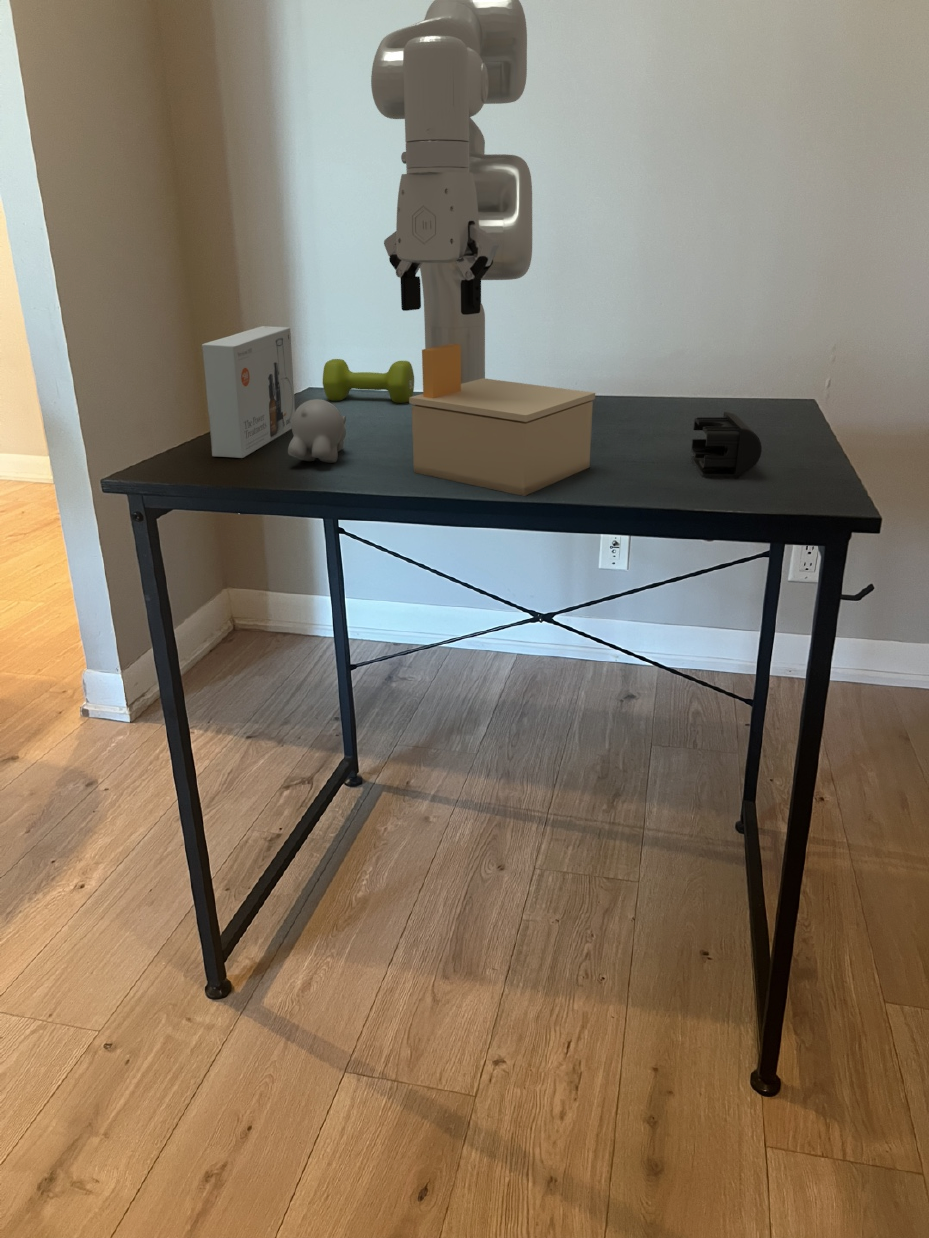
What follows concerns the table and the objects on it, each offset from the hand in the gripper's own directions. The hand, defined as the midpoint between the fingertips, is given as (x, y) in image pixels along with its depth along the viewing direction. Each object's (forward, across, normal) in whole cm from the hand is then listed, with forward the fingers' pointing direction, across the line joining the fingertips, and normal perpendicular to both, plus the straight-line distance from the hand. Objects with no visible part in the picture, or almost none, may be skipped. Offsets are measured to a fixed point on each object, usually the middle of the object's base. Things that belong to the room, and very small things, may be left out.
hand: (440, 311), depth 112 cm
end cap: (+21, +30, +23) cm, 43 cm away
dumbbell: (+20, -40, +29) cm, 53 cm away
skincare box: (+20, -34, -4) cm, 40 cm away
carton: (+20, +6, +5) cm, 22 cm away
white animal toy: (+21, -18, -5) cm, 28 cm away
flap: (+11, +7, +5) cm, 14 cm away
